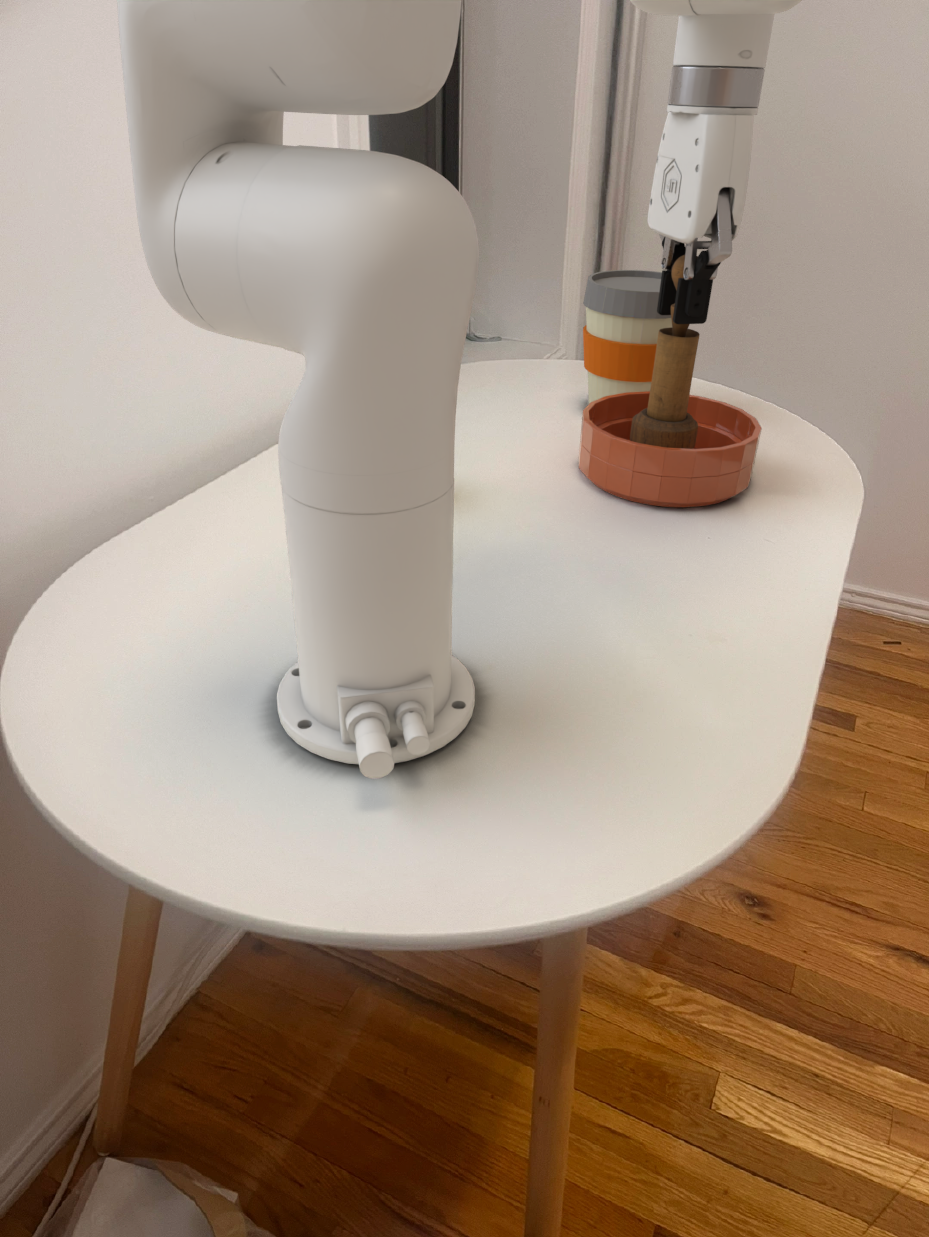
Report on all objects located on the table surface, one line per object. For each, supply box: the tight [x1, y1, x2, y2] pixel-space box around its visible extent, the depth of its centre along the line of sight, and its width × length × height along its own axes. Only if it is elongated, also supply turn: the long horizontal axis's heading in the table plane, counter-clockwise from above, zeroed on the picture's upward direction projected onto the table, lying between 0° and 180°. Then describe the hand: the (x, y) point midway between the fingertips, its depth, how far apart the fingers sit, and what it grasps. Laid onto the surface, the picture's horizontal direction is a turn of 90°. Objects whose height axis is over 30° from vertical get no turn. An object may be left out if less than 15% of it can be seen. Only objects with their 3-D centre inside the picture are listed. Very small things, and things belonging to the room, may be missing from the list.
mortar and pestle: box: [630, 255, 700, 449], centre depth 86 cm, size 7×6×18 cm
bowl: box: [577, 391, 763, 508], centre depth 89 cm, size 17×17×6 cm
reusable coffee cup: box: [582, 269, 672, 404], centre depth 104 cm, size 13×13×15 cm
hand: (681, 316), depth 84 cm, fingers closed on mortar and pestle, 2 cm apart
